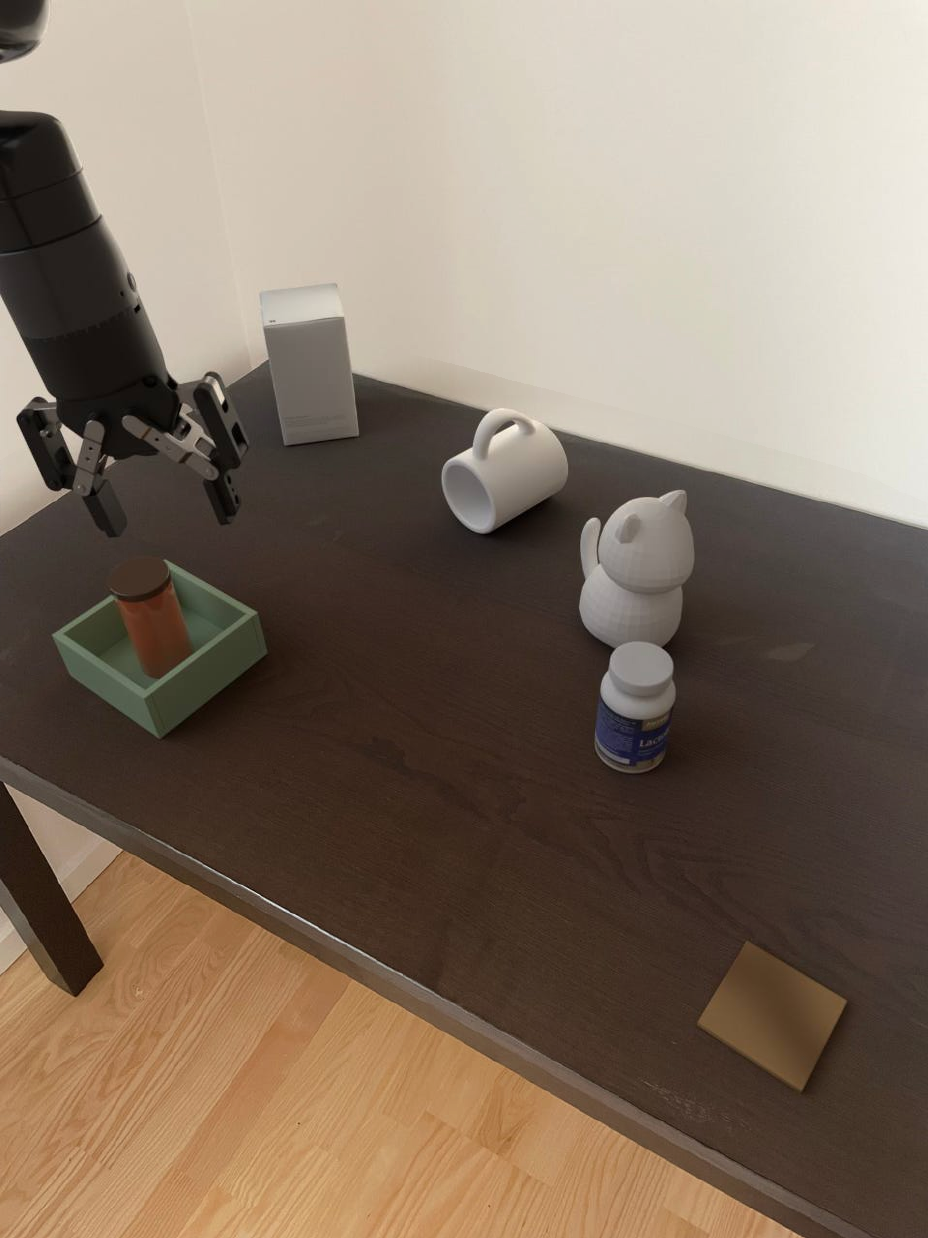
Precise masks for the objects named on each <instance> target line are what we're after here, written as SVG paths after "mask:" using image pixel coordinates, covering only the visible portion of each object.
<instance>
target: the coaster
mask: <svg viewBox="0 0 928 1238" xmlns="http://www.w3.org/2000/svg"><path fill="white" fill-rule="evenodd" d="M847 1003H848V1000H847V999H845V998H844V997H842V996H840V995H839V994H837V993H836V992H833V991H832V990H831V989H828V988H827V987H825V986H823V985H822V984H820V983H818V982H817V981H815V980H814V979H812V978H810V977H809V976H807V975H805V974H804V973H802V972H800V971H799V970H797V969H796V968H794V967H792V966H791V965H789V964H787V963H785V962H784V961H782V960H780V959H779V958H777V957H775V956H773V955H772V954H770V953H769V952H767V951H765V950H764V949H762V948H760V947H759V946H757V945H756V944H753V942H751V941H749V940H746V941H745V942H744V944H743V946H742V948H741V949H740V951H739V952H738V954H737V956H736V958H735V959H734V961H733V963H732V964H731V966H730V968H729V969H728V971H727V972H726V974H725V976H724V977H723V979H722V981H721V982H720V985H719V986H718V987H717V989H716V991H715V993H714V994H713V996H712V997H711V999H710V1000H709V1002H708V1004H707V1006H706V1007H705V1009H704V1010H703V1012H702V1014H701V1016H700V1017H699V1019H698V1021H697V1023H696V1026H698V1028H699V1029H702V1031H705V1032H706V1033H708V1034H709V1035H710V1036H712V1037H714V1038H715V1039H717V1040H718V1041H720V1042H721V1043H723V1044H724V1045H726V1046H727V1047H729V1048H730V1049H732V1050H734V1051H735V1052H736V1053H739V1055H741V1056H742V1057H744V1058H746V1059H747V1060H749V1061H750V1062H751V1063H753V1064H755V1065H756V1066H757V1067H759V1068H760V1069H762V1070H764V1072H766V1073H768V1074H770V1075H771V1076H773V1078H776V1079H777V1080H779V1081H780V1082H782V1083H783V1084H784V1085H786V1086H788V1087H789V1088H791V1089H792V1090H794V1091H795V1092H797V1093H799V1094H802V1093H803V1091H804V1088H805V1087H806V1085H807V1082H808V1081H809V1079H810V1077H811V1074H812V1072H813V1071H814V1069H815V1067H816V1065H817V1063H818V1061H819V1059H820V1057H821V1055H822V1053H823V1051H824V1049H825V1047H826V1045H827V1043H828V1041H829V1040H830V1037H831V1035H832V1033H833V1032H834V1029H835V1027H836V1025H837V1023H838V1021H839V1019H840V1017H841V1015H842V1014H843V1011H844V1010H845V1007H846V1005H847Z"/></svg>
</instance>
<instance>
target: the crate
mask: <svg viewBox="0 0 928 1238" xmlns="http://www.w3.org/2000/svg"><path fill="white" fill-rule="evenodd" d="M162 560H163V561H165V562H166V563H167V565H168V566H169V569H170V572H171V579H172V583H173V586H174V589H175V592H176V595H177V598H178V601H179V604H180V607H181V611H182V614H183V617H184V620H185V623H186V626H187V629H188V632H189V636H190V639H191V642H192V645H193V648H194V651H195V653H194V654H193V655H191V656H190V657H189V658H187V659H186V660H185V661H183V662H182V663H181V664H179V665H178V666H177V667H175V668H174V669H173V670H171V671H170V672H169V673H167V674H166V675H165V676H163V677H162V678H161V679H154V678H151V677H149V676H147V675H146V674H144V673H143V671H142V670H141V667H140V664H139V662H138V659H137V657H136V654H135V651H134V649H133V646H132V643H131V641H130V638H129V636H128V633H127V630H126V628H125V625H124V622H123V620H122V617H121V615H120V612H119V609H118V607H117V604H116V601H115V599H114V596H113V595H112V594H110V595H109V596H108V597H106V598H105V599H103V600H102V601H100V602H99V603H98V604H96V605H94V606H92V607H91V608H90V609H88V610H87V611H85V612H84V613H82V614H81V615H79V616H78V617H76V618H75V619H73V620H72V621H70V622H69V623H67V624H66V625H64V626H63V627H61V628H60V629H59V630H57V631H55V632H54V633H52V634H51V637H52V639H53V641H54V643H55V645H56V648H57V650H58V652H59V654H60V656H61V659H62V662H63V663H64V665H65V667H66V669H67V671H68V674H69V676H70V677H71V678H73V679H74V680H75V681H77V682H78V683H80V684H81V685H82V686H84V687H86V688H87V689H89V690H90V691H91V692H93V693H94V694H95V695H97V696H98V697H100V698H101V699H102V700H104V701H105V702H107V703H108V704H110V705H111V706H112V707H113V708H115V709H116V710H117V711H119V712H121V713H122V714H124V715H125V716H126V717H128V718H129V719H131V720H132V721H133V722H135V723H136V724H137V725H139V726H140V727H141V728H143V729H145V730H146V731H147V732H149V733H150V734H152V736H154V737H156V738H157V739H158V740H161V739H162V738H163V737H165V736H166V735H167V734H168V733H170V732H171V731H173V729H175V728H176V727H177V726H179V724H181V723H183V722H184V721H185V720H186V719H188V717H190V716H191V715H192V714H194V713H195V712H197V710H199V709H200V708H201V707H202V706H204V705H205V704H206V703H207V702H208V701H210V700H211V699H212V698H214V697H215V696H216V695H217V694H219V693H220V692H221V691H222V690H224V689H225V688H226V687H227V686H229V685H230V684H231V683H232V682H234V681H235V680H236V679H238V678H239V677H240V676H242V674H243V673H245V672H246V671H247V670H248V669H250V668H251V667H252V666H253V665H255V664H257V662H259V661H260V660H261V659H263V658H264V657H265V656H266V655H267V654H268V649H267V646H266V641H265V637H264V634H263V633H264V632H263V630H262V629H263V628H262V626H261V621H260V617H259V613H258V611H256V610H255V609H252V608H250V607H249V606H247V605H246V604H244V603H242V602H241V601H239V600H237V599H235V598H234V597H231V596H230V595H229V594H226V593H224V592H223V591H221V590H219V589H217V588H216V587H215V586H212V585H211V584H209V583H207V582H206V581H204V580H202V579H201V578H199V577H197V576H196V575H193V574H191V573H190V572H188V571H186V570H185V569H183V568H182V567H179V566H178V565H176V564H174V563H172V562H171V561H170V560H167V559H166V558H165V559H162Z"/></svg>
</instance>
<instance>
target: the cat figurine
mask: <svg viewBox="0 0 928 1238" xmlns="http://www.w3.org/2000/svg"><path fill="white" fill-rule="evenodd" d="M687 497H688V496H687V491H686V490H685V489H677V490H676V489H675V490H672V491H670V492H667V493H665V494H663V495H661V496H660V497H654V496H644V497H643V496H642V497H637V498H633V499H631V500H628V501H627V502H625V503H624V504H622V505H621V506H619V507H618V508H616V510H615V511H614V512H612V514H611V515H610V517H609V518H608V520H607V521H606V523H605V525H604V526H603V529H602V532H601V534H600V531H601V521H600V519H599V518H598V517H591V518H590V519H589V520H587V521H586V523H585V524H584V526H583V528H582V532H581V534H580V541H579V542H580V550H579V551H580V561H581V567H582V571H583V576H584V580H585V581H584V583H583V585H582V588H581V591H580V592H581V593H580V597H579V603H578V604H579V605H578V609H579V614H580V618H581V621H582V623H583V625H584V627H585V628H586V629H587V630H588V632H589V633H590V634H591V635H592V636H593V637H595V639H598V640H599V641H601V642H602V643H604V644H606V645H607V646H609V647H611V648H613V649H614V650H616V649H617V648H618V647H619V646H621V645H623V644H625V643H629V642H647V643H651V644H654V645H657V646H659V647H660V648H663V647H664V646H666V644H668V643H669V641H671V639H672V638H673V637H674V636H675V634H676V633H677V631H678V629H679V626H680V623H681V621H682V612H683V611H682V610H683V604H684V603H683V601H684V600H683V599H684V598H683V589H682V586H683V584H685V583H686V581H687V580H688V579H689V578H690V576H691V574H692V572H693V570H694V564H695V546H694V544H695V543H694V538H693V532H692V528H691V526H690V523H689V520H688V519H687V517H686V515H685V514H686V510H687V506H688V505H687V504H688V498H687ZM599 536H600V538H599ZM598 541H599V542H598Z"/></svg>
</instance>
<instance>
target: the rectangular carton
mask: <svg viewBox="0 0 928 1238" xmlns="http://www.w3.org/2000/svg"><path fill="white" fill-rule="evenodd" d="M259 302H260V303H259V304H260V311H261V313H260V314H261V322H262V331H263V337H264V342H265V347H266V352H267V358H268V364H269V368H270V369H269V370H270V374H271V379H272V384H273V390H274V396H275V401H276V407H277V413H278V418H279V423H280V428H281V435H282V439H283V444H284V446H292V445H301V444H307V443H315V442H322V441H331V440H338V439H346V438H353V437H359V436H360V431H359V421H358V413H357V404H356V395H355V388H354V379H353V369H352V363H351V354H350V347H349V340H348V333H347V323H346V318H345V314H344V309H343V303H342V301H341V295H340V292H339V288H338V284H337V283H336V282H333V283H322V284H315V285H307V286H306V285H305V286H298V287H290V288H289V287H288V288H280V289H271V290H269V289H268V290H264V291H260V292H259Z"/></svg>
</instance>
